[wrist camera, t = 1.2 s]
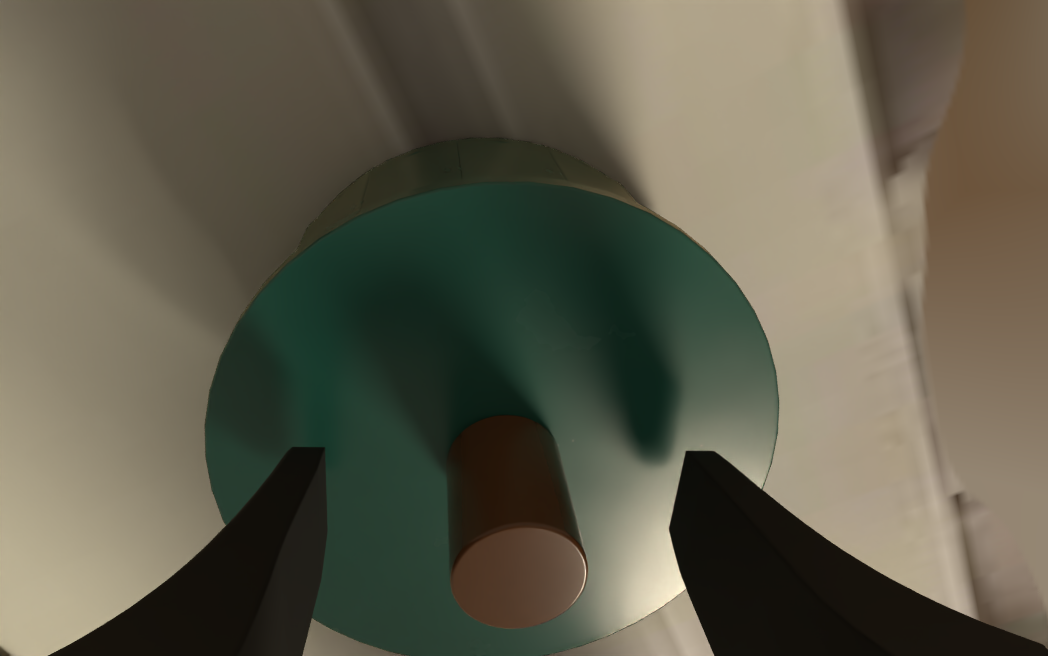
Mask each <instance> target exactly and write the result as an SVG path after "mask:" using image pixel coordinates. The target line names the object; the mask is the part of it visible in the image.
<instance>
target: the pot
mask: <svg viewBox="0 0 1048 656" xmlns="http://www.w3.org/2000/svg"><path fill="white" fill-rule="evenodd" d="M479 176H533V177H541V178H549V179H557V180H565V181H571V182H575V183H578V184H582V185H586V186H590V187H593V188H597V189H601V190H605V191H608V192H611V193H613V194H616V195H618V196H620V197H623V198H625V199H628V200H630V201H632V202H635V203H637V202H636V201H635V200H634V198H633V197H632V196H631V195H630V194H629V192H628V191H627V190H626V189H625V188H624V186H623V185H621V184H620V183H619V182H617V181H615V180H613V179H611V178H609V177H607V176H606V175H605V174H603V173H602V172H600V171H598V170H597V169H595V168H593V167H592V166H590V165H588V164H587V163H585V162H583V161H582V160H580V159H577V158H575V157H573V156H570V155H568V154H566V153H563V152H561V151H559V150H556V149H553V148H550V147H546V146H544V145H538V144H535V143H531V142H526V141H519V140H511V139H504V138H467V139H459V140H452V141H444V142H439V143H436V144H432V145H428V146H425V147H421V148H417V149H414V150H411V151H409V152H407V153H404V154H402V155H399V156H397V157H395V158H392V159H390V160H387V161H386V162H384V163H382V164H381V165H379V166H377V167H374V168H373V169H372V170H370V171H368V172H367V173H365V174H364V175H362V176H361V177H360V178H358V179H357V180H356V181H355V182H353V183H352V184H351V185H350V186H348V187H347V188H346V189H345V190H343V191H342V192H341V193H340V194H339V195H338V196H337V197H336V198H335V199H334V200H333V201H332V202H331V203H330V204H329V205H328V206H327V208H326V209H325V210H324V211H323V212H322V213H321V214H320V216H319V217H318V218H316V219H315V220H314V221H313V222H312V223H311V224H310V225H309V227H308V228H307V229H306V231H305V233H304V236H303V238H302V240H301V242H300V245H299V247H298V249H299V248H301V247H302V246H303V245H305V244H306V243H307V242H308V241H310V240H311V239H312V238H313V237H315V236H316V235H317V234H319V233H320V232H321V231H323V230H324V229H326V228H328V227H329V226H331V225H333V224H335V223H336V222H338V221H340V220H341V219H343V218H345V217H347V216H348V215H350V214H352V213H353V212H355V211H357V210H359V209H361V208H363V207H366V206H368V205H371V204H373V203H375V202H378V201H380V200H383V199H385V198H387V197H390V196H392V195H395V194H397V193H400V192H404V191H408V190H411V189H415V188H419V187H422V186H426V185H430V184H434V183H437V182H442V181H449V180H456V179H464V178H471V177H479ZM637 204H638V203H637ZM298 249H297V250H298Z"/></svg>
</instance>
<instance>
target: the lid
mask: <svg viewBox="0 0 1048 656" xmlns="http://www.w3.org/2000/svg"><path fill="white" fill-rule="evenodd" d="M778 417H779V395H778V385H777V376H776V369H775V365H774V362H773V358H772V354H771V350H770V347H769V343H768V340H767V337H766V335H765V333H764V331H763V329H762V326H761V324H760V322H759V320H758V317H757V315H756V313H755V311H754V309H753V308H752V306H751V305H750V303H749V301H748V300H747V298H746V297H745V295H744V294H743V292H742V291H741V289H740V288H739V286H738V285H737V283H736V282H735V281H734V280H733V278H732V277H731V276H730V275H729V274H728V273H727V272H726V271H725V270H724V269H723V267H722V266H721V265H720V264H719V263H718V262H717V261H716V260H715V259H714V258H713V256H712V255H711V254H710V253H709V252H708V251H707V250H706V249H705V248H704V247H703V246H701V245H700V244H699V243H698V242H696V241H695V240H694V239H693V238H691V237H690V236H689V235H688V234H687V233H685V232H684V231H683V230H682V229H680V228H679V227H678V226H676V225H675V224H673V223H671V222H670V221H668V220H666V219H665V218H663V217H661V216H660V215H658V214H656V213H655V212H653V211H651V210H650V209H648V208H646V207H644V206H642V205H640V204H637V203H635V202H632V201H630V200H628V199H625V198H623V197H620V196H618V195H616V194H613V193H611V192H608V191H605V190H601V189H597V188H593V187H590V186H586V185H582V184H578V183H575V182H571V181H565V180H557V179H549V178H541V177H533V176H479V177H471V178H464V179H456V180H449V181H442V182H437V183H434V184H430V185H426V186H422V187H419V188H415V189H411V190H408V191H404V192H400V193H397V194H395V195H392V196H390V197H387V198H385V199H383V200H380V201H378V202H375V203H373V204H371V205H368V206H366V207H363V208H361V209H359V210H357V211H355V212H353V213H352V214H350V215H348V216H347V217H345V218H343V219H341V220H340V221H338V222H336V223H335V224H333V225H331V226H329V227H328V228H326V229H324V230H323V231H321V232H320V233H319V234H317V235H316V236H315V237H313V238H312V239H311V240H310V241H308V242H307V243H306V244H305V245H303V246H302V247H301V248H299V249H298V250H297V251H296V252H294V253H293V254H292V255H291V256H289V257H288V259H287V260H286V261H285V262H284V263H283V264H282V265H281V266H280V267H279V268H278V269H277V270H276V271H275V272H274V273H273V274H272V275H271V276H270V277H269V278H268V279H267V280H266V281H265V283H264V284H263V285H262V286H261V288H260V289H259V290H258V292H257V293H256V295H255V296H254V297H253V299H252V300H251V302H250V303H249V305H248V306H247V307H246V309H245V310H244V312H243V313H242V314H241V316H240V318H239V320H238V322H237V324H236V326H235V328H234V330H233V332H232V334H231V336H230V338H229V340H228V342H227V344H226V346H225V348H224V350H223V352H222V354H221V356H220V358H219V361H218V365H217V368H216V371H215V374H214V378H213V381H212V384H211V387H210V390H209V397H208V404H207V411H206V419H205V456H206V462H207V468H208V473H209V478H210V483H211V488H212V492H213V494H214V497H215V500H216V503H217V505H218V508H219V511H220V514H221V516H222V519H223V521H224V523H225V525H227V524H228V523H229V522H230V521H231V520H232V519H233V518H234V517H235V516H236V515H237V513H238V512H239V511H240V510H241V509H242V508H243V507H244V505H245V504H246V503H247V502H248V501H249V500H250V498H251V497H252V496H253V495H254V494H255V493H256V491H257V490H258V489H259V488H260V487H261V485H262V484H263V483H264V482H265V480H266V479H267V478H268V477H269V475H270V474H271V473H272V471H273V470H274V469H275V467H276V466H277V465H278V463H279V462H280V460H281V459H282V458H283V456H284V455H285V453H286V452H287V451H288V450H289V449H291V448H292V447H325V461H326V495H327V530H328V531H327V539H326V548H325V556H324V563H323V571H322V578H321V583H320V587H319V591H318V595H317V599H316V603H315V607H314V611H313V615H312V618H313V619H314V620H316V621H318V622H319V623H321V624H323V625H325V626H326V627H328V628H330V629H332V630H334V631H336V632H338V633H340V634H343V635H345V636H347V637H349V638H352V639H354V640H356V641H358V642H361V643H364V644H367V645H370V646H373V647H376V648H379V649H383V650H386V651H389V652H393V653H398V654H402V655H407V656H545V655H550V654H554V653H557V652H561V651H565V650H569V649H572V648H576V647H580V646H582V645H585V644H588V643H591V642H593V641H596V640H599V639H601V638H604V637H607V636H609V635H611V634H614V633H616V632H618V631H620V630H622V629H624V628H626V627H628V626H630V625H632V624H635V623H637V622H638V621H640V620H642V619H643V618H645V617H647V616H648V615H650V614H652V613H653V612H655V611H657V610H658V609H660V608H662V607H663V606H665V605H666V604H667V603H669V602H670V601H671V600H673V599H674V598H675V597H677V596H678V595H679V594H681V593H682V592H683V591H685V590H686V587H685V584H684V582H683V579H682V577H681V574H680V571H679V567H678V564H677V560H676V557H675V553H674V549H673V545H672V541H671V537H670V533H669V525H670V521H671V516H672V512H673V507H674V503H675V498H676V493H677V489H678V484H679V480H680V475H681V470H682V466H683V461H684V457H685V452H686V451H715V452H717V453H718V454H719V455H721V456H722V457H723V458H724V459H726V460H727V461H728V462H729V463H731V464H732V465H733V466H734V467H736V468H737V469H738V470H739V471H740V472H742V473H743V474H744V475H745V476H746V477H748V478H749V479H750V480H751V481H752V482H754V483H755V484H756V485H757V486H758V487H760V488H761V489H763V486H764V484H765V481H766V478H767V475H768V472H769V469H770V467H771V464H772V459H773V454H774V449H775V444H776V439H777V434H778Z"/></svg>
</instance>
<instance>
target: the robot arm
mask: <svg viewBox="0 0 1048 656" xmlns="http://www.w3.org/2000/svg"><path fill="white" fill-rule="evenodd" d="M327 531H328V530H327V495H326V461H325V447H292V448H291V449H289V450H288V451H287V452H286V453H285V455H284V456H283V458H282V459H281V460H280V462H279V463H278V465H277V466H276V467H275V469H274V470H273V471H272V473H271V474H270V475H269V477H268V478H267V479H266V480H265V482H264V483H263V484H262V485H261V487H260V488H259V489H258V490H257V491H256V493H255V494H254V495H253V496H252V497H251V498H250V500H249V501H248V502H247V503H246V504H245V505H244V507H243V508H242V509H241V510H240V511H239V512H238V513H237V515H236V516H235V517H234V518H233V519H232V520H231V521H230V522H229V523H228V524H227V525H226V526H225V527H224V528H223V529H222V530H221V531H220V532H219V533H218V534H217V535H216V536H215V537H214V538H213V539H212V541H211V542H210V543H209V544H208V545H206V546H205V547H204V548H203V549H202V550H201V551H200V552H199V553H198V554H197V555H196V556H195V557H194V558H192V559H191V560H190V561H189V562H188V563H187V564H186V565H184V566H183V567H182V568H181V569H180V570H179V571H177V572H176V573H175V574H174V575H173V576H172V577H170V578H169V579H168V580H167V581H165V582H164V583H163V584H161V585H160V586H159V587H157V588H156V589H155V590H153V591H152V592H151V593H149V594H148V595H147V596H145V597H144V598H142V599H141V600H140V601H138V602H137V603H136V604H134V605H133V606H131V607H130V608H128V609H127V610H126V611H124V612H122V613H121V614H119V615H118V616H116V617H115V618H113V619H112V620H110V621H108V622H107V623H105V624H104V625H102V626H100V627H99V628H97V629H95V630H94V631H92V632H90V633H89V634H87V635H85V636H84V637H82V638H80V639H78V640H77V641H75V642H73V643H71V644H70V645H68V646H66V647H64V648H62V649H60V650H58V651H56V652H54V653H52V654H50V655H48V656H302V654H303V650H304V646H305V642H306V639H307V635H308V631H309V627H310V623H311V619H312V615H313V611H314V607H315V603H316V599H317V595H318V591H319V587H320V583H321V578H322V571H323V563H324V556H325V548H326V539H327ZM669 533H670V537H671V541H672V545H673V549H674V553H675V557H676V560H677V564H678V567H679V571H680V574H681V577H682V579H683V582H684V584H685V587H686V589H687V592H688V594H689V597H690V599H691V601H692V604H693V606H694V609H695V611H696V613H697V616H698V618H699V620H700V623H701V625H702V628H703V630H704V632H705V635H706V637H707V639H708V642H709V644H710V647H711V649H712V651H713V654H714V656H1048V650H1047V648H1046V647H1045V646H1044V645H1043V644H1040V643H1037V642H1035V641H1032V640H1029V639H1026V638H1024V637H1021V636H1018V635H1016V634H1013V633H1010V632H1007V631H1005V630H1002V629H999V628H996V627H994V626H991V625H988V624H986V623H983V622H981V621H978V620H976V619H973V618H971V617H969V616H967V615H964V614H962V613H960V612H957V611H955V610H953V609H950V608H948V607H946V606H944V605H942V604H939V603H937V602H935V601H933V600H931V599H929V598H927V597H925V596H923V595H921V594H919V593H917V592H915V591H913V590H911V589H909V588H907V587H905V586H903V585H901V584H900V583H898V582H896V581H894V580H892V579H890V578H888V577H886V576H885V575H883V574H881V573H879V572H878V571H876V570H874V569H872V568H871V567H869V566H868V565H866V564H864V563H863V562H861V561H859V560H858V559H856V558H855V557H853V556H851V555H850V554H848V553H847V552H845V551H843V550H842V549H840V548H839V547H837V546H836V545H834V544H833V543H831V542H830V541H828V540H827V539H826V538H824V537H823V536H822V535H820V534H819V533H817V532H816V531H815V530H813V529H812V528H810V527H809V526H808V525H806V524H805V523H804V522H802V521H801V520H800V519H798V518H797V517H796V516H794V515H793V514H792V513H790V512H789V511H788V510H787V509H785V508H784V507H783V506H782V505H780V504H779V503H778V502H777V501H775V500H774V499H773V498H772V497H770V496H769V495H768V494H767V493H766V492H764V491H763V490H762V489H761V488H760V487H758V486H757V485H756V484H755V483H754V482H752V481H751V480H750V479H749V478H748V477H746V476H745V475H744V474H743V473H742V472H740V471H739V470H738V469H737V468H736V467H734V466H733V465H732V464H731V463H729V462H728V461H727V460H726V459H724V458H723V457H722V456H721V455H719V454H718V453H717V452H715V451H686V452H685V457H684V461H683V466H682V470H681V475H680V480H679V484H678V489H677V493H676V498H675V503H674V507H673V512H672V516H671V521H670V525H669Z"/></svg>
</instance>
